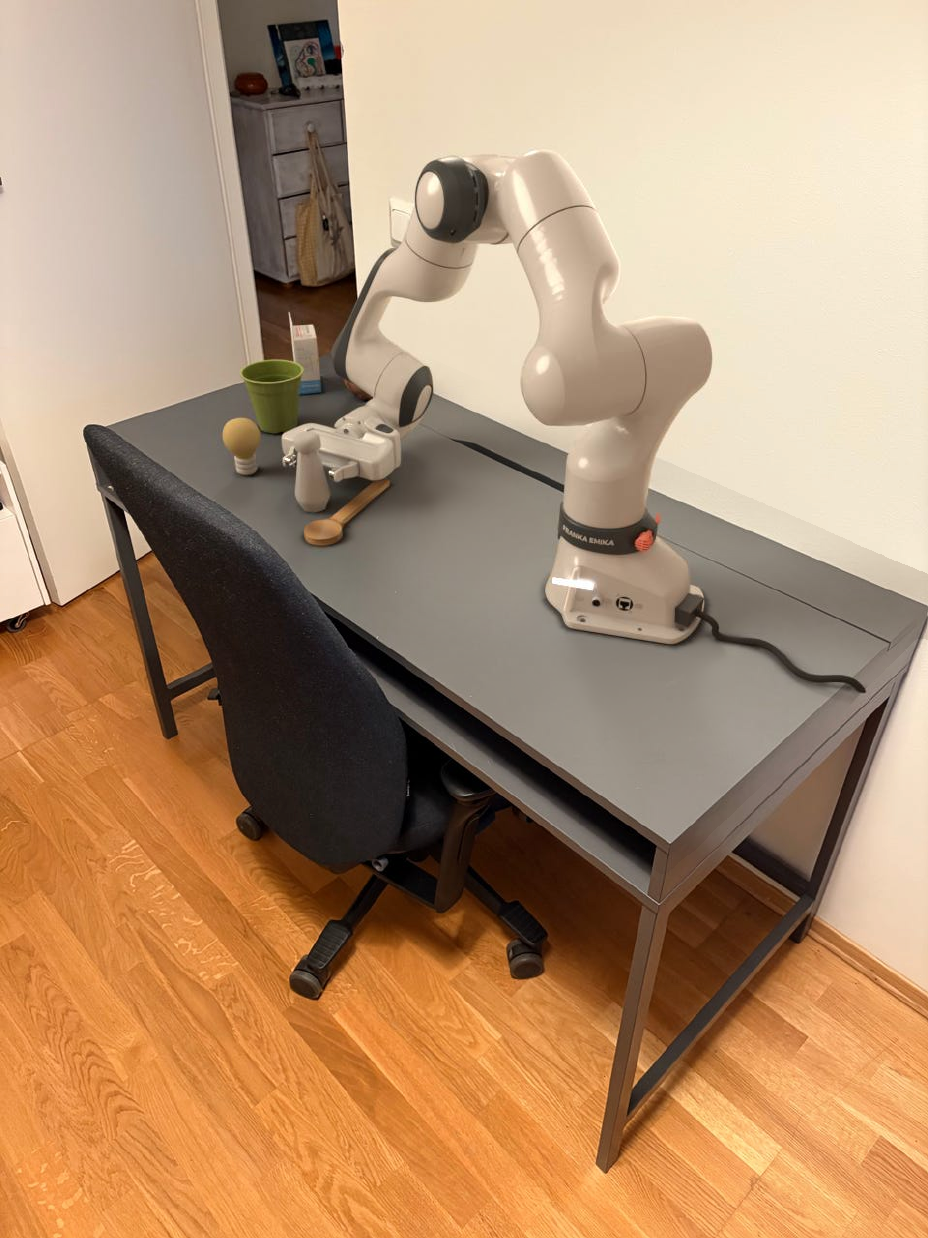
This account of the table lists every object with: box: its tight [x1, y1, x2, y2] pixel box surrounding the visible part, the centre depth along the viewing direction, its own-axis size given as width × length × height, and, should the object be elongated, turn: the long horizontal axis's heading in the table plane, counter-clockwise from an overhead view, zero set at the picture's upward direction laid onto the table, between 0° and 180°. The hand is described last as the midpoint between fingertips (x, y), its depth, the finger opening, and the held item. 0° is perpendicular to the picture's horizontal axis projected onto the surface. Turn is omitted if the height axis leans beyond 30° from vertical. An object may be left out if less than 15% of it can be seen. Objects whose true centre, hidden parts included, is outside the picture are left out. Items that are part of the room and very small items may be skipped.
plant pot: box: [239, 359, 304, 434], centre depth 174 cm, size 12×12×11 cm
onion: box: [343, 378, 374, 401], centre depth 186 cm, size 10×9×10 cm
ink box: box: [288, 311, 322, 395], centre depth 188 cm, size 8×5×15 cm, turn 13°
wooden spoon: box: [303, 478, 391, 547], centre depth 150 cm, size 22×6×1 cm, turn 154°
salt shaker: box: [293, 431, 331, 514], centre depth 148 cm, size 6×6×13 cm
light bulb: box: [222, 417, 262, 476], centre depth 159 cm, size 6×6×10 cm
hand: (309, 470), depth 148 cm, fingers open, 8 cm apart
